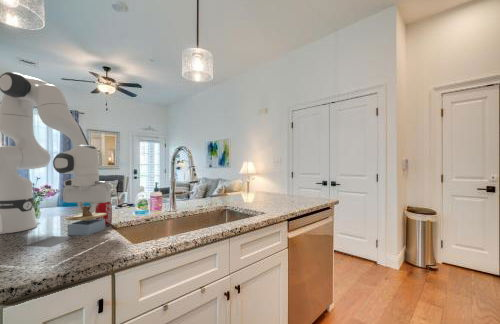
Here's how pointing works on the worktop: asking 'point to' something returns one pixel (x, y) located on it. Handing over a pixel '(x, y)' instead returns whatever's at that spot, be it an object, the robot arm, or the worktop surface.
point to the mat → (50, 241)
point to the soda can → (105, 209)
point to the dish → (86, 227)
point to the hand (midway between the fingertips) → (87, 212)
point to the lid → (86, 215)
